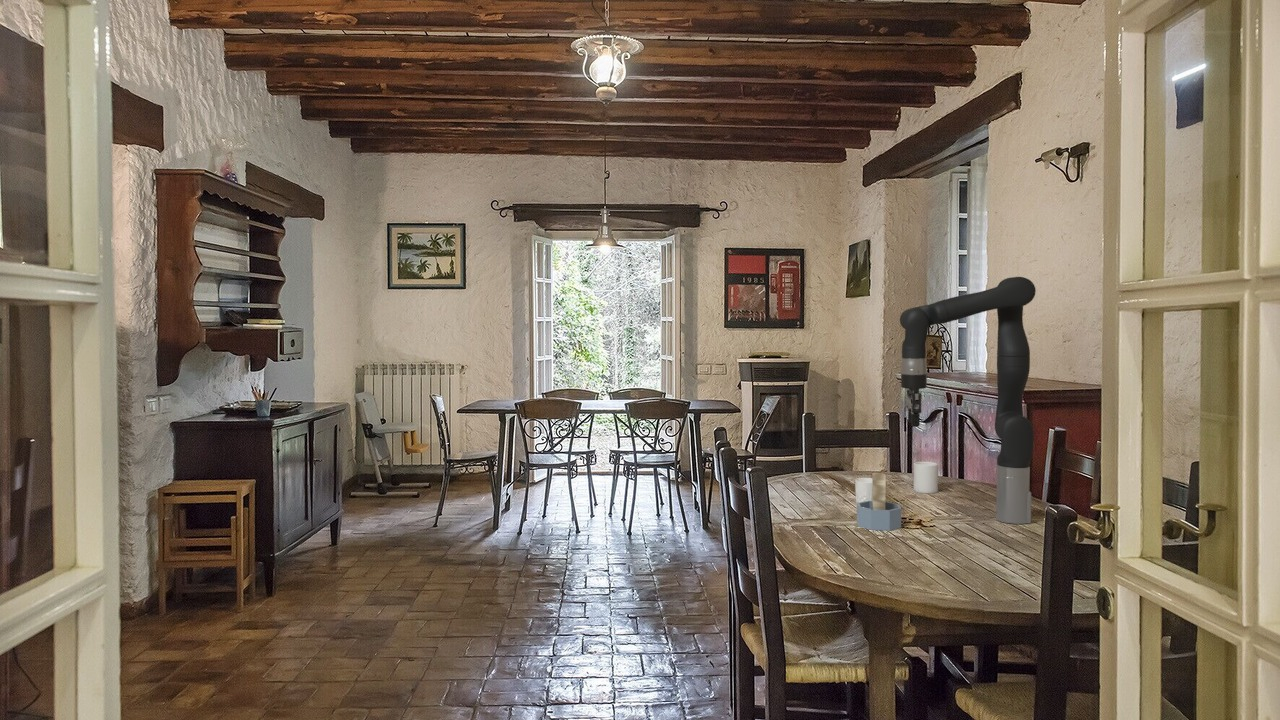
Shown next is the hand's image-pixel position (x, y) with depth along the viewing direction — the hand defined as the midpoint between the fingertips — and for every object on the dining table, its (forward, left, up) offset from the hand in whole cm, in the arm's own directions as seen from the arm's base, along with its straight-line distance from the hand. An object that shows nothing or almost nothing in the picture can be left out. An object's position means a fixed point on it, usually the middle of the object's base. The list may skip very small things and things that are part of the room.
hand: (913, 424), depth 248 cm
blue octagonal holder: (+11, +9, -30) cm, 33 cm away
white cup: (+13, -10, -30) cm, 34 cm away
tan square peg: (+11, +9, -29) cm, 32 cm away
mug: (-10, -45, -30) cm, 55 cm away
